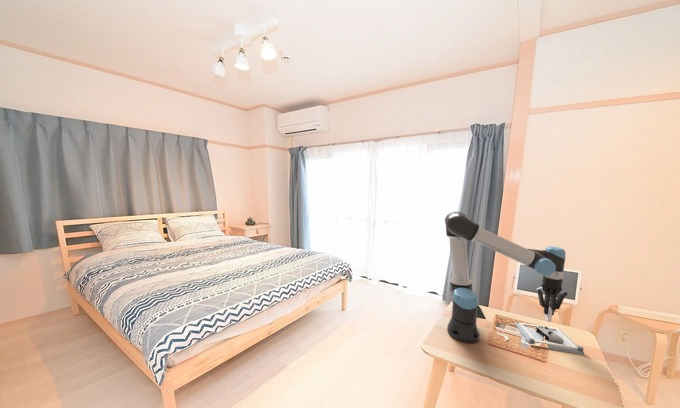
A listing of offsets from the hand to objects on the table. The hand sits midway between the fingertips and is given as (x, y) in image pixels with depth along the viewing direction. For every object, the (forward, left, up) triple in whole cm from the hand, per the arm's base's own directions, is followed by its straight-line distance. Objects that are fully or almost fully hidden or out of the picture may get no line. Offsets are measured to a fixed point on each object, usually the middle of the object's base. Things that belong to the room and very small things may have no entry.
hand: (547, 320), depth 122 cm
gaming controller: (+1, 0, -9) cm, 9 cm away
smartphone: (-28, +18, -11) cm, 35 cm away
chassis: (0, 0, -10) cm, 10 cm away
